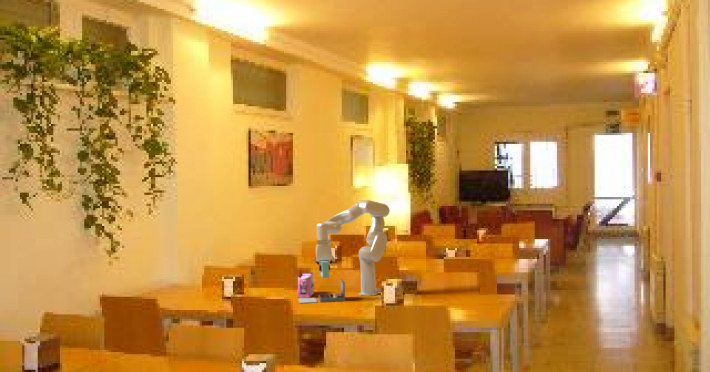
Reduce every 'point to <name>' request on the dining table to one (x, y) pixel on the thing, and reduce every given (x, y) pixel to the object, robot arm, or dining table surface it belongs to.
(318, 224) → the robot arm
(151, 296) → the dining table surface
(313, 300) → the mat
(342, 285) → the rack
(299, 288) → the gum box
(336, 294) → the offcut stack
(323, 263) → the teal board
